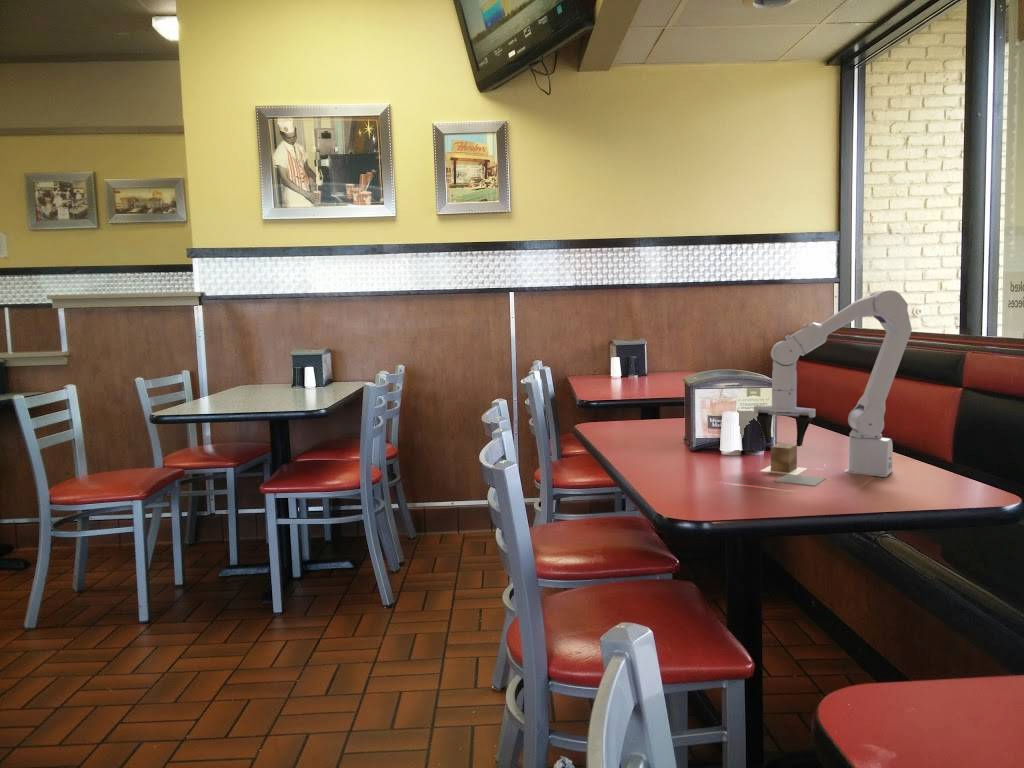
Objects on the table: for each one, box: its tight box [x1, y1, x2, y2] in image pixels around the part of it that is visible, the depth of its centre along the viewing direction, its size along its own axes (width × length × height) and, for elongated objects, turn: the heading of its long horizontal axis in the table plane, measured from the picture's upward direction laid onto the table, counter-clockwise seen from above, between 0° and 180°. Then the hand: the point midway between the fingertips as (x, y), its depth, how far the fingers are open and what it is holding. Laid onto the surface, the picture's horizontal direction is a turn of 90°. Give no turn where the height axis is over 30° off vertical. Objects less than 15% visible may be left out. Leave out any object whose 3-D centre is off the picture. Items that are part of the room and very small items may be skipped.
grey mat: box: [774, 474, 827, 487], centre depth 179 cm, size 9×9×1 cm
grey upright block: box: [735, 408, 758, 438], centre depth 218 cm, size 6×4×12 cm
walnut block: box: [770, 442, 798, 473], centre depth 191 cm, size 4×6×6 cm
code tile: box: [760, 464, 808, 475], centre depth 191 cm, size 9×9×1 cm
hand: (783, 444), depth 190 cm, fingers open, 7 cm apart
